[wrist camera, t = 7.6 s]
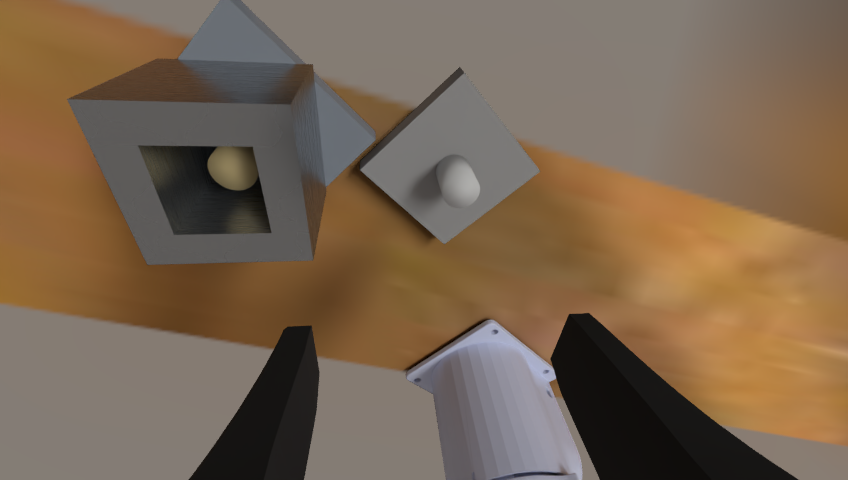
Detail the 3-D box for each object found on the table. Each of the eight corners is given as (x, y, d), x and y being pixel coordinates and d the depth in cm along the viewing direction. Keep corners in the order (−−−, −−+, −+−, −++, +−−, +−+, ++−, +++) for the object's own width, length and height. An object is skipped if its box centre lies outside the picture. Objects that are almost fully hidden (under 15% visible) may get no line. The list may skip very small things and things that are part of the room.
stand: (532, 162, 19) (556, 191, 16) (441, 233, 21) (450, 268, 18) (459, 67, 16) (475, 86, 13) (360, 160, 18) (358, 191, 15)
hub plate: (375, 131, 17) (376, 170, 14) (278, 224, 19) (260, 276, 16) (233, -7, 13) (190, 2, 10) (135, 126, 16) (74, 168, 12)
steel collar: (312, 64, 14) (290, 104, 10) (326, 191, 17) (313, 260, 13) (157, 58, 13) (67, 99, 9) (201, 191, 17) (147, 264, 13)
